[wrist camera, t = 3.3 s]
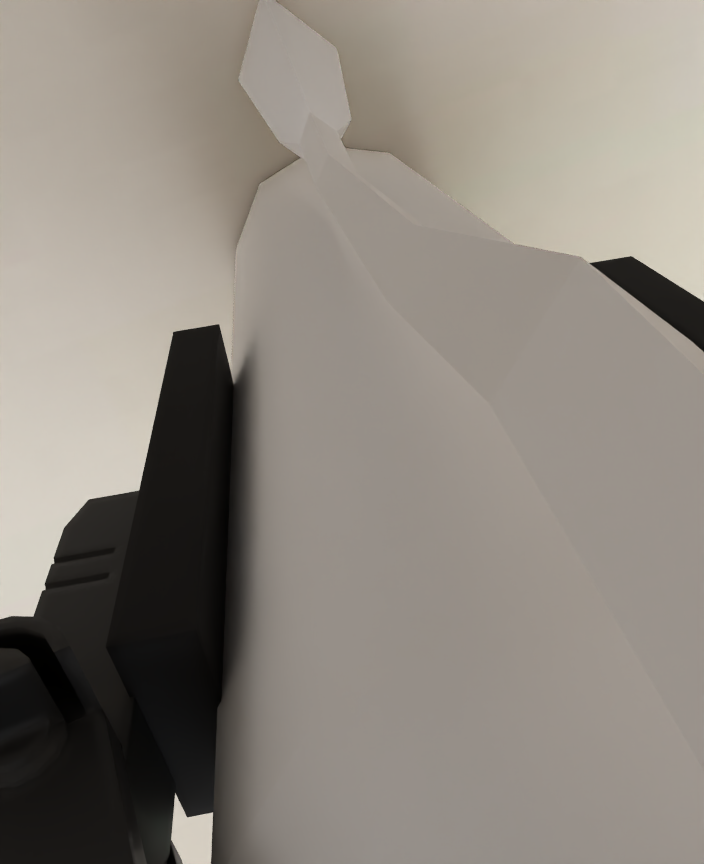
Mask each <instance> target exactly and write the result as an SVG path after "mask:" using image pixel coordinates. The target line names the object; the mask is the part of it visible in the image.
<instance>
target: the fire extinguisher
mask: <svg viewBox="0 0 704 864" xmlns="http://www.w3.org/2000/svg"><path fill="white" fill-rule="evenodd" d="M238 81H239V82H240V84H241V85H242V87H243V88H244V90H245V91H246V93H247V94H248V96H249V97H250V99H251V100H252V102H253V103H254V105H255V106H256V108H257V110H258V111H259V113H260V114H261V116H262V117H263V119H264V120H265V122H266V123H267V125H268V126H269V128H270V129H271V131H272V132H273V134H274V135H275V137H276V138H277V140H278V141H279V143H281V144H282V145H284V146H285V147H286V148H288V149H289V150H291V151H292V152H294V153H295V154H296V155H298V156H299V157H301V158H299V159H298V160H296V161H295V162H293V163H292V164H290V165H288V166H287V167H285V168H284V169H282V170H281V171H279V172H277V173H276V174H274V175H273V176H271V177H270V178H268V179H266V180H265V181H263V182H262V183H260V185H259V188H258V190H257V193H256V196H255V198H254V201H253V204H252V206H251V209H250V212H249V215H248V217H247V220H246V223H245V225H244V228H243V231H242V234H241V236H240V239H239V242H238V244H237V247H236V258H235V283H234V308H233V333H232V358H231V375H232V379H233V384H234V389H233V415H232V441H231V466H230V492H229V518H228V544H227V570H226V596H225V621H224V647H223V673H222V699H221V702H220V704H219V706H218V708H217V732H216V757H215V782H214V807H213V832H212V857H211V864H704V352H703V351H702V350H701V349H700V348H699V347H697V346H696V345H695V344H694V343H693V342H692V341H691V340H689V339H688V338H687V337H685V336H684V335H683V334H681V333H680V332H679V331H677V330H676V329H675V328H673V327H672V326H671V325H670V324H668V323H667V322H666V321H664V320H663V319H662V318H660V317H659V316H658V315H656V314H655V313H654V312H652V311H651V310H650V309H649V308H647V307H646V306H645V305H643V304H642V303H641V302H639V301H638V300H637V299H635V298H634V297H633V296H631V295H630V294H629V293H628V292H626V291H625V290H624V289H622V288H621V287H620V286H618V285H617V284H616V283H614V282H613V281H612V280H610V279H609V278H608V277H607V276H605V275H604V274H603V273H601V272H600V271H599V270H597V269H596V268H595V267H593V266H592V265H591V264H589V263H588V262H587V261H586V260H584V259H583V258H582V257H579V256H574V255H569V254H563V253H558V252H553V251H548V250H543V249H537V248H532V247H527V246H522V245H517V244H514V243H513V242H511V241H510V240H509V239H507V238H506V237H504V236H503V235H502V234H500V233H499V232H498V231H496V230H495V229H493V228H492V227H491V226H489V225H488V224H487V223H485V222H484V221H483V220H481V219H480V218H478V217H477V216H476V215H474V214H473V213H472V212H470V211H469V210H467V209H466V208H465V207H463V206H462V205H461V204H459V203H458V202H456V201H455V200H454V199H452V198H451V197H450V196H448V195H447V194H445V193H444V192H443V191H441V190H440V189H439V188H437V187H436V186H435V185H433V184H432V183H430V182H429V181H428V180H426V179H425V178H424V177H422V176H421V175H419V174H418V173H417V172H415V171H414V170H413V169H411V168H410V167H408V166H407V165H406V164H404V163H403V162H402V161H400V160H399V159H397V158H396V157H395V156H393V155H392V154H391V153H387V152H378V151H369V150H359V149H350V148H345V147H344V145H343V143H342V140H341V139H342V137H343V135H344V133H345V131H346V129H347V127H348V125H349V124H350V122H351V120H352V118H351V114H350V109H349V104H348V99H347V94H346V89H345V85H344V80H343V75H342V70H341V65H340V60H339V56H338V51H337V48H336V47H335V46H334V45H332V44H331V43H330V42H328V41H327V40H326V39H325V38H323V37H322V36H321V35H319V34H318V33H317V32H315V31H314V30H313V29H312V28H310V27H309V26H308V25H306V24H305V23H304V22H303V21H301V20H300V19H299V18H297V17H296V16H295V15H293V14H292V13H291V12H290V11H288V10H287V9H286V8H284V7H283V6H282V5H281V4H279V3H278V2H277V1H275V0H259V3H258V6H257V10H256V14H255V18H254V22H253V25H252V29H251V33H250V37H249V41H248V44H247V48H246V52H245V56H244V59H243V63H242V67H241V71H240V75H239V78H238Z"/></svg>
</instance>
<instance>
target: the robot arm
mask: <svg viewBox="0 0 704 864" xmlns="http://www.w3.org/2000/svg"><path fill="white" fill-rule="evenodd" d="M589 264H591V265H592V266H593V267H595V268H596V269H597V270H599V271H600V272H601V273H603V274H604V275H605V276H607V277H608V278H609V279H610V280H612V281H613V282H614V283H616V284H617V285H618V286H620V287H621V288H622V289H624V290H625V291H626V292H628V293H629V294H630V295H631V296H633V297H634V298H635V299H637V300H638V301H639V302H641V303H642V304H643V305H645V306H646V307H647V308H649V309H650V310H651V311H652V312H654V313H655V314H656V315H658V316H659V317H660V318H662V319H663V320H664V321H666V322H667V323H668V324H670V325H671V326H672V327H673V328H675V329H676V330H677V331H679V332H680V333H681V334H683V335H684V336H685V337H687V338H688V339H689V340H691V341H692V342H693V343H694V344H695V345H696V346H697V347H699V348H700V349H701V350H702V351H703V352H704V302H703V301H702V300H700V299H698V298H697V297H695V296H694V295H692V294H691V293H689V292H687V291H686V290H684V289H683V288H681V287H679V286H678V285H676V284H675V283H673V282H672V281H670V280H668V279H667V278H665V277H664V276H662V275H660V274H659V273H657V272H656V271H654V270H652V269H651V268H649V267H648V266H646V265H645V264H643V263H641V262H640V261H638V260H637V259H635V258H633V257H632V256H630V257H624V258H618V259H612V260H606V261H600V262H594V263H589ZM233 389H234V384H233V379H232V375H231V371H230V367H229V363H228V359H227V355H226V351H225V347H224V343H223V338H222V334H221V330H220V326H219V324H218V325H212V326H206V327H200V328H194V329H188V330H182V331H176V332H173V337H172V342H171V346H170V351H169V356H168V360H167V365H166V369H165V374H164V379H163V383H162V388H161V393H160V397H159V402H158V407H157V411H156V416H155V420H154V425H153V430H152V434H151V439H150V444H149V448H148V453H147V458H146V462H145V467H144V471H143V476H142V481H141V485H140V490H139V491H135V492H129V493H124V494H118V495H112V496H107V497H101V498H95V499H90V500H88V501H87V502H86V504H85V505H84V506H83V507H82V508H81V509H80V510H79V512H78V513H77V514H76V515H75V516H74V517H73V518H72V520H71V521H70V522H69V523H68V524H67V525H66V526H65V528H64V530H63V533H62V536H61V539H60V541H59V544H58V547H57V550H56V553H55V556H54V564H52V565H51V568H50V570H49V573H48V576H47V579H46V582H45V586H46V590H44V591H42V594H41V596H40V599H39V602H38V605H37V608H36V611H35V614H34V617H21V616H11V617H7V618H4V619H0V864H182V860H181V858H180V856H179V854H178V852H177V850H176V848H175V846H174V844H173V842H172V841H171V833H172V821H173V810H174V798H175V793H176V795H177V797H178V799H179V801H180V803H181V805H182V807H183V809H184V811H185V814H186V816H187V817H191V816H196V815H201V814H206V813H211V812H213V807H214V782H215V757H216V732H217V708H218V706H219V704H220V702H221V699H222V673H223V647H224V621H225V596H226V570H227V544H228V518H229V492H230V466H231V441H232V415H233Z"/></svg>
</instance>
